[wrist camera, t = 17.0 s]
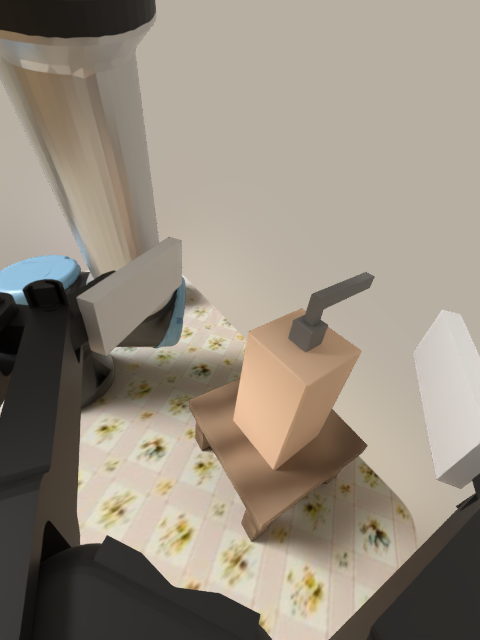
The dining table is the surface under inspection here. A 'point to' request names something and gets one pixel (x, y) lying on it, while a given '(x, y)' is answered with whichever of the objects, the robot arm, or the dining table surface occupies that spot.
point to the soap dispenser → (294, 375)
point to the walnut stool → (252, 469)
